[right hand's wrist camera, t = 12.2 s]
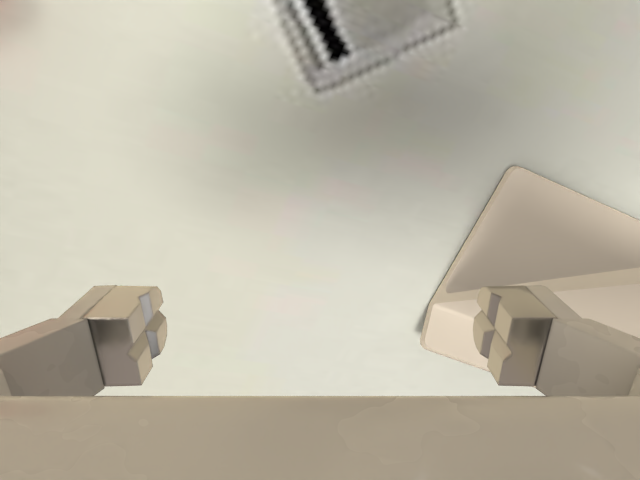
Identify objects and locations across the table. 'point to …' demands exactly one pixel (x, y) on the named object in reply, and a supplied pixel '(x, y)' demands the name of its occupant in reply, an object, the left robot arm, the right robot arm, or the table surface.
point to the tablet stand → (539, 261)
